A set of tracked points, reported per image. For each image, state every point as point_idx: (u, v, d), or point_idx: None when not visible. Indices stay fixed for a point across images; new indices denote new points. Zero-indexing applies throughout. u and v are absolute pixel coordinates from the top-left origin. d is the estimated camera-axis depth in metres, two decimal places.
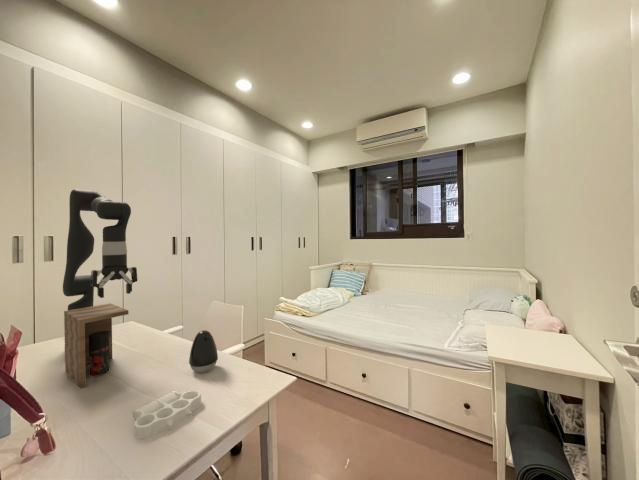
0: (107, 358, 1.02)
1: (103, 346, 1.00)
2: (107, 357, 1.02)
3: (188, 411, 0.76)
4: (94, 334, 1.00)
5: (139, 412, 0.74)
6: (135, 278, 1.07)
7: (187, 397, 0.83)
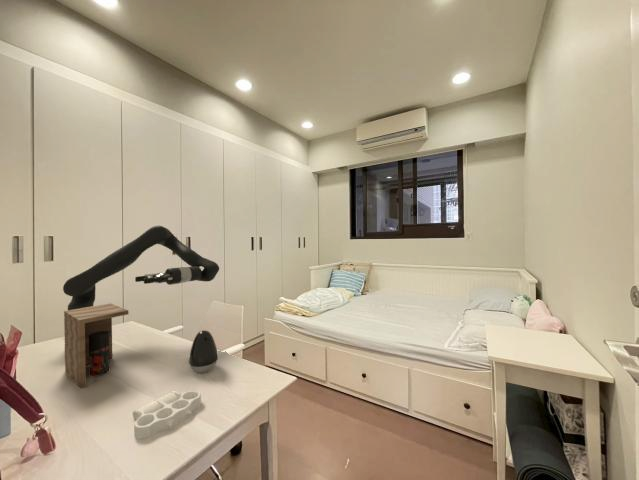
0: (107, 358, 1.02)
1: (103, 346, 1.00)
2: (107, 357, 1.02)
3: (188, 411, 0.76)
4: (94, 334, 1.00)
5: (139, 412, 0.74)
6: None
7: (187, 397, 0.83)
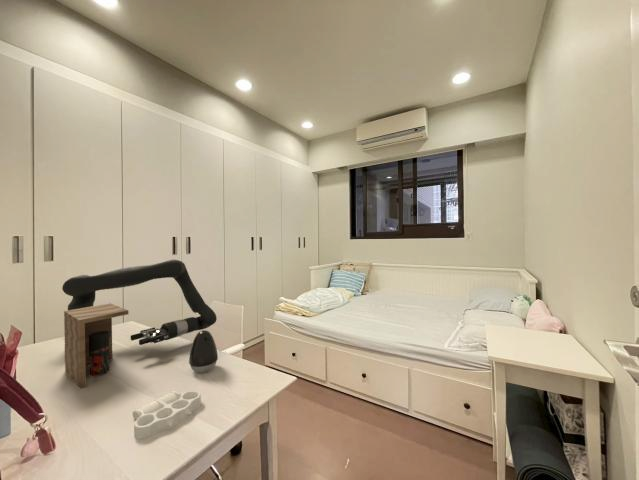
0: (107, 358, 1.02)
1: (103, 346, 1.00)
2: (107, 357, 1.02)
3: (188, 411, 0.76)
4: (94, 334, 1.00)
5: (139, 412, 0.74)
6: None
7: (187, 397, 0.83)
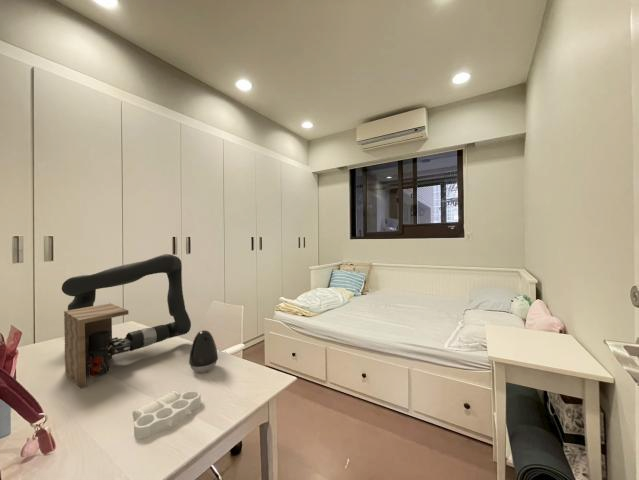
0: (107, 358, 1.02)
1: (103, 346, 1.00)
2: (107, 357, 1.02)
3: (188, 411, 0.76)
4: (94, 334, 1.00)
5: (139, 412, 0.74)
6: None
7: (187, 397, 0.83)
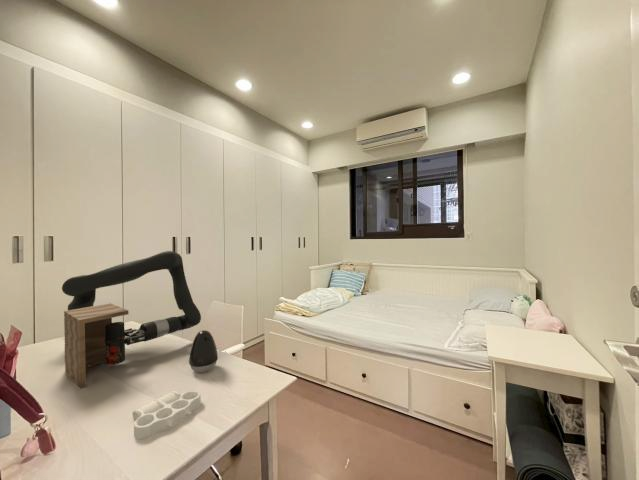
0: (123, 348, 1.06)
1: (119, 336, 1.05)
2: (123, 347, 1.06)
3: (188, 411, 0.76)
4: (111, 325, 1.04)
5: (139, 412, 0.74)
6: None
7: (187, 397, 0.83)
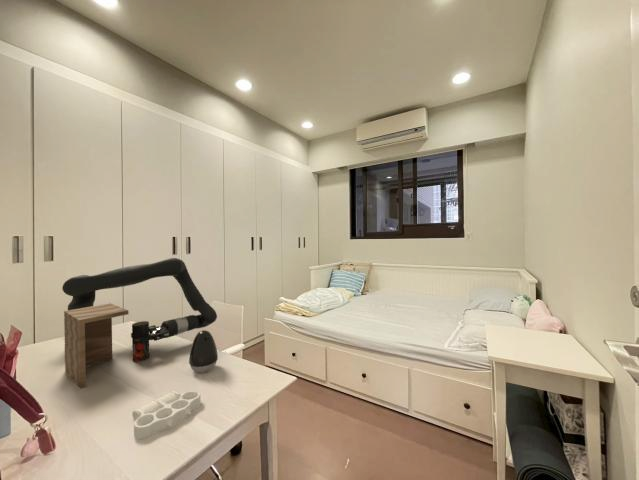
0: (148, 345, 1.14)
1: (144, 335, 1.12)
2: (148, 345, 1.14)
3: (188, 411, 0.76)
4: (137, 324, 1.12)
5: (139, 412, 0.74)
6: None
7: (187, 397, 0.83)
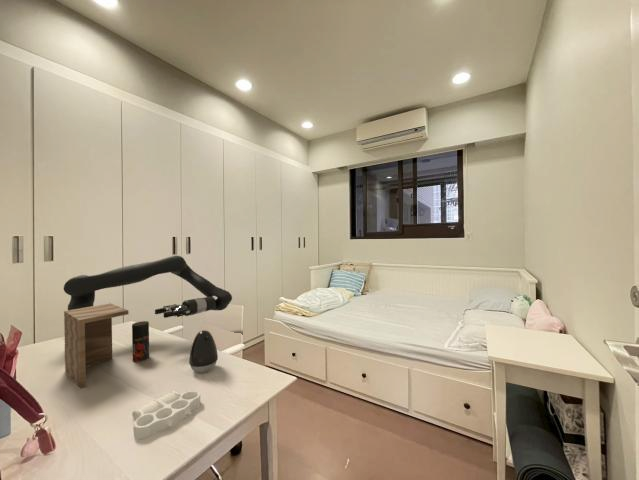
0: (148, 345, 1.13)
1: (144, 335, 1.12)
2: (148, 345, 1.14)
3: (187, 411, 0.76)
4: (137, 324, 1.12)
5: (138, 412, 0.74)
6: None
7: (186, 397, 0.83)
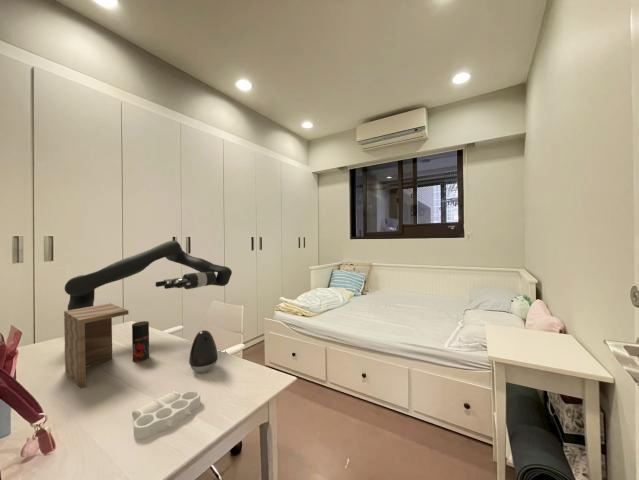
0: (148, 345, 1.14)
1: (144, 335, 1.12)
2: (148, 345, 1.14)
3: (187, 411, 0.76)
4: (137, 324, 1.12)
5: (138, 412, 0.74)
6: None
7: (186, 397, 0.83)
